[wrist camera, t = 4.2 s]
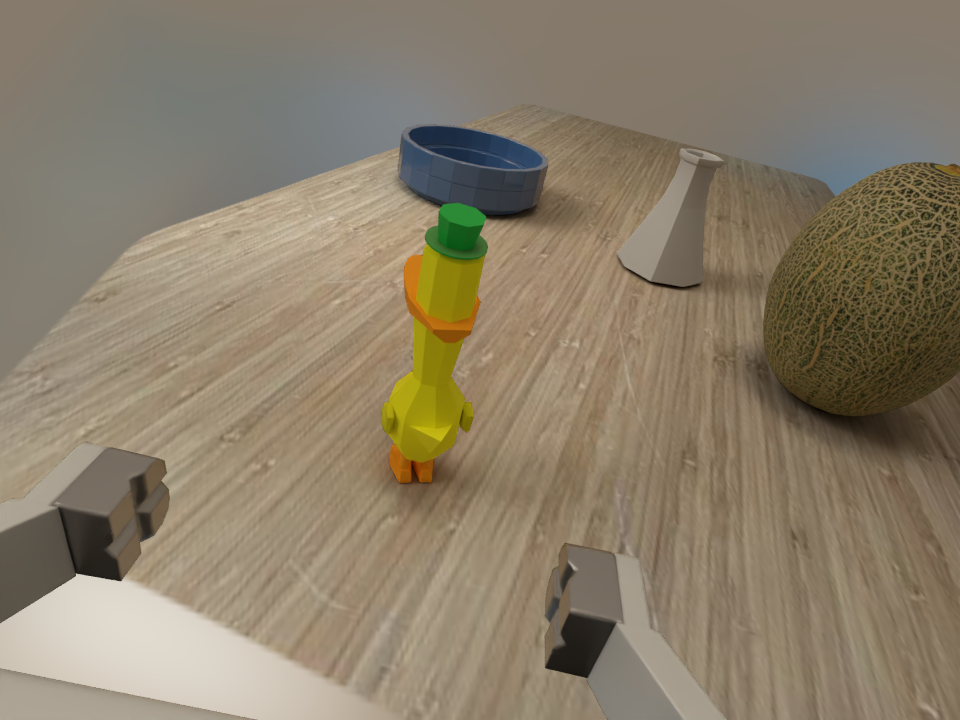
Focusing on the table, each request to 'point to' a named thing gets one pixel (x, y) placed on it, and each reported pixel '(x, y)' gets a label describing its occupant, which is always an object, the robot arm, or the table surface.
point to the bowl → (471, 168)
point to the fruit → (871, 294)
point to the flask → (675, 226)
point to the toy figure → (436, 342)
